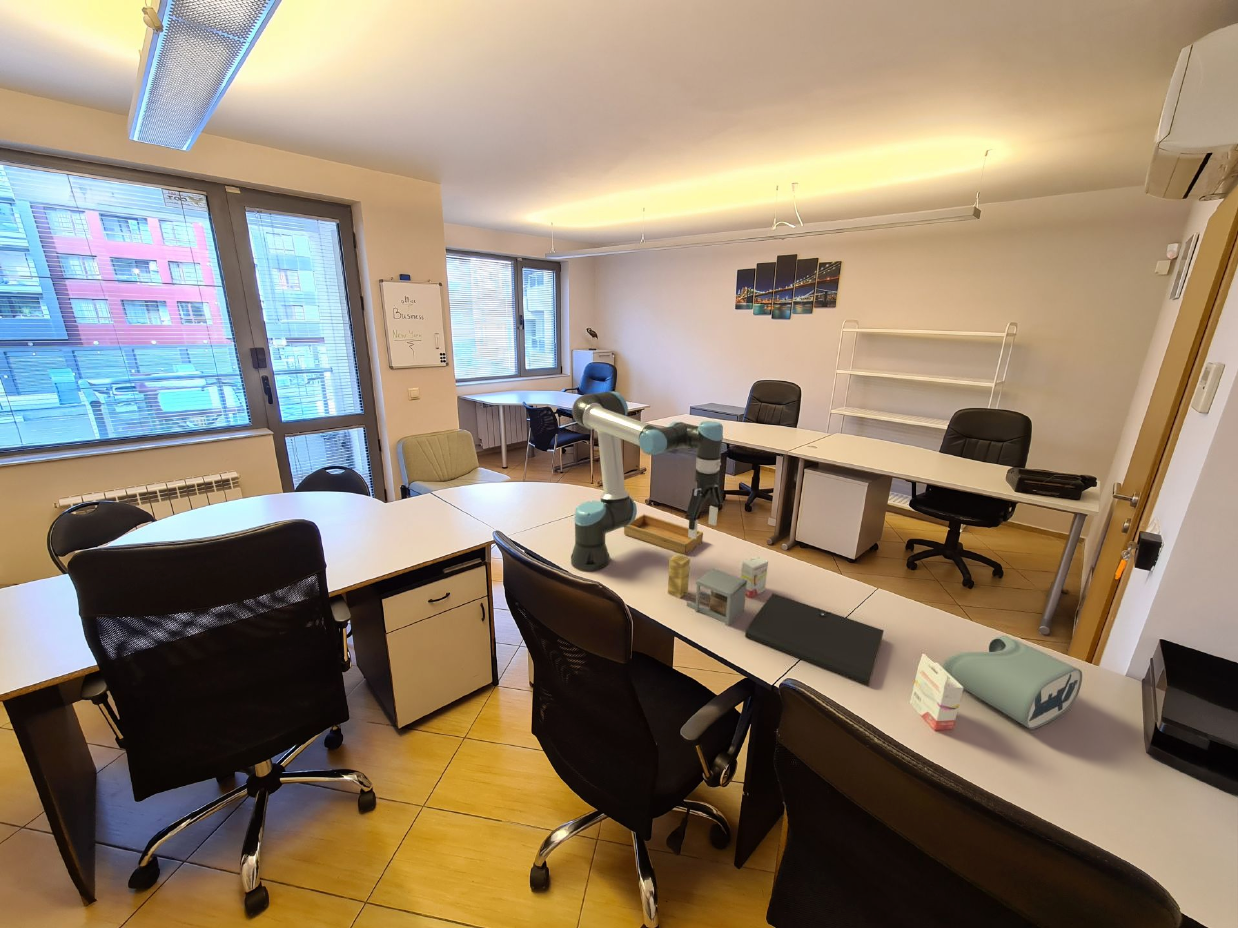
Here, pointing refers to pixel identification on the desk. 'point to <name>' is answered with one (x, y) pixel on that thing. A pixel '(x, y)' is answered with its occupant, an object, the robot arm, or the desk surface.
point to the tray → (663, 534)
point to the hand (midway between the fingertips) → (702, 531)
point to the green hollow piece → (1017, 680)
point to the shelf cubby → (725, 586)
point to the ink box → (754, 575)
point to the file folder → (817, 637)
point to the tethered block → (681, 579)
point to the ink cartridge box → (936, 695)
